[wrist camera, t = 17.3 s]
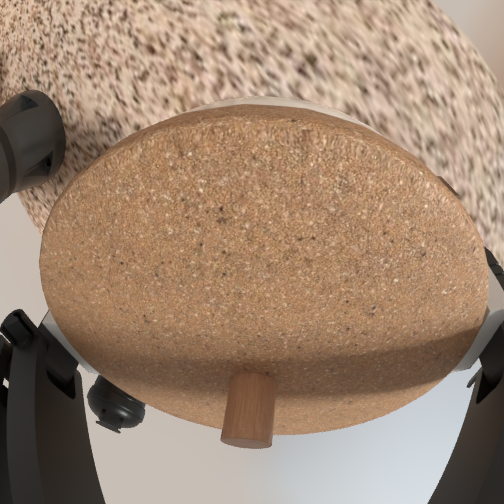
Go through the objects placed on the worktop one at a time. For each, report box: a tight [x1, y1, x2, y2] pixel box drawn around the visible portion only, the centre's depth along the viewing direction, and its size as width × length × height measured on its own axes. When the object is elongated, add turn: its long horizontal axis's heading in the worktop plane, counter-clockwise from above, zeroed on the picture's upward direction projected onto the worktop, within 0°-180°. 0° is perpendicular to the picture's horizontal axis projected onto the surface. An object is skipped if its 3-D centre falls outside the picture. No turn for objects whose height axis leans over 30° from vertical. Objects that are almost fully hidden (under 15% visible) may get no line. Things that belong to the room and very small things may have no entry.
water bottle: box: [87, 375, 146, 433], centre depth 44 cm, size 10×10×23 cm
